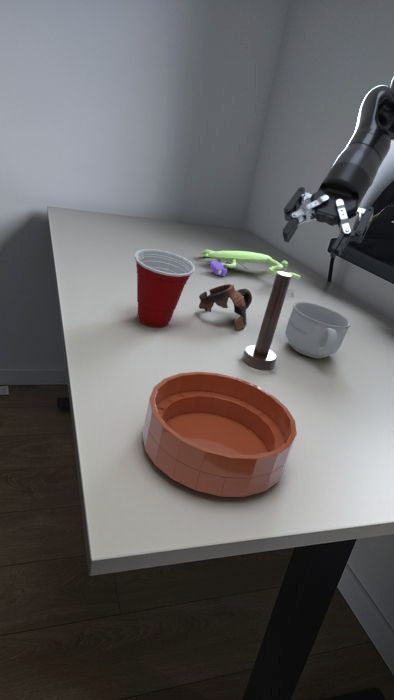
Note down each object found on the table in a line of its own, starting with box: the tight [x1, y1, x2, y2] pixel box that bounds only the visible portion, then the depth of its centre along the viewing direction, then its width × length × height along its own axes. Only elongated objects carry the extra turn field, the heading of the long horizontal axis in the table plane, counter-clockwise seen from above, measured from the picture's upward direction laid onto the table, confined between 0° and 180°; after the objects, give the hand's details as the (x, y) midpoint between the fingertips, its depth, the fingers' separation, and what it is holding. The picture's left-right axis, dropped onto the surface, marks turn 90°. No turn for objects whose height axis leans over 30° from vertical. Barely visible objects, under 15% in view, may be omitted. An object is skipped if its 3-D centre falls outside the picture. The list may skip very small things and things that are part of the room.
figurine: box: [201, 249, 301, 281], centre depth 131 cm, size 18×27×6 cm
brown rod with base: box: [242, 270, 293, 371], centre depth 81 cm, size 6×6×16 cm
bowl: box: [141, 371, 298, 498], centre depth 59 cm, size 17×17×6 cm
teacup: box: [285, 301, 351, 359], centre depth 91 cm, size 14×11×8 cm
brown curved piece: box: [198, 283, 253, 331], centre depth 99 cm, size 12×10×8 cm
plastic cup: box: [133, 248, 196, 328], centre depth 88 cm, size 11×11×12 cm
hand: (308, 246), depth 83 cm, fingers open, 8 cm apart
